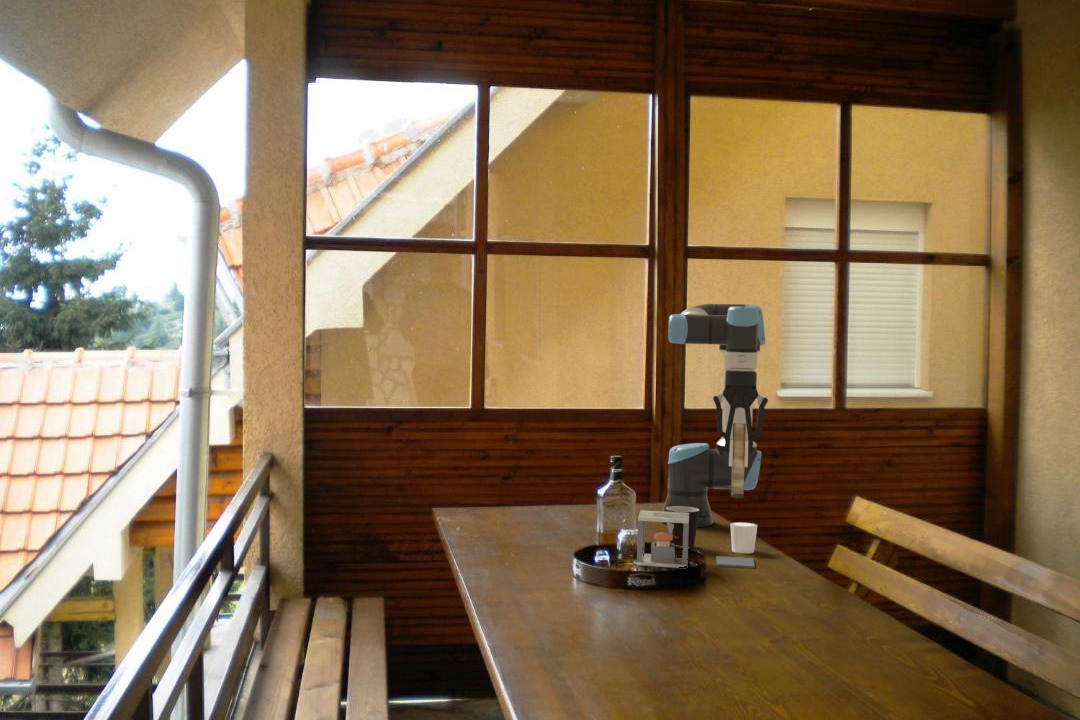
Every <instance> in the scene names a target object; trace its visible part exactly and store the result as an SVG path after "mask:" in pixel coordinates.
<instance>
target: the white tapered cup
mask: <svg viewBox="0 0 1080 720" xmlns="http://www.w3.org/2000/svg"><path fill="white" fill-rule="evenodd" d="M757 531H758V524H756V523H753V522H752V523H751V522H747V521H746V522H744V521H740V522H731V523H730V540H731V551H732V553H733V552H734V553H738V554H753V553H755V548H756V547H755V546H756V540H757Z"/></svg>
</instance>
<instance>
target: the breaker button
mask: <svg viewBox="0 0 1080 720" xmlns="http://www.w3.org/2000/svg"><path fill="white" fill-rule="evenodd" d="M672 537H673V535H672V534H670V533H668V532H656V533H654V534H653V539H654V540H656V542H657V546H663V547H670V541H671V540H672Z"/></svg>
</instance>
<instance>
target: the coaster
mask: <svg viewBox="0 0 1080 720" xmlns="http://www.w3.org/2000/svg"><path fill="white" fill-rule="evenodd" d="M715 558H716V559H715V561H716V567H723V568H724V567H725V568H726V567H727V568H743V569H755V568H756V566H755V562H754V561H755V560H754V558H753V557H740V556H739V557H737V556H722V555H720V556H719V555H716V557H715Z"/></svg>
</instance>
